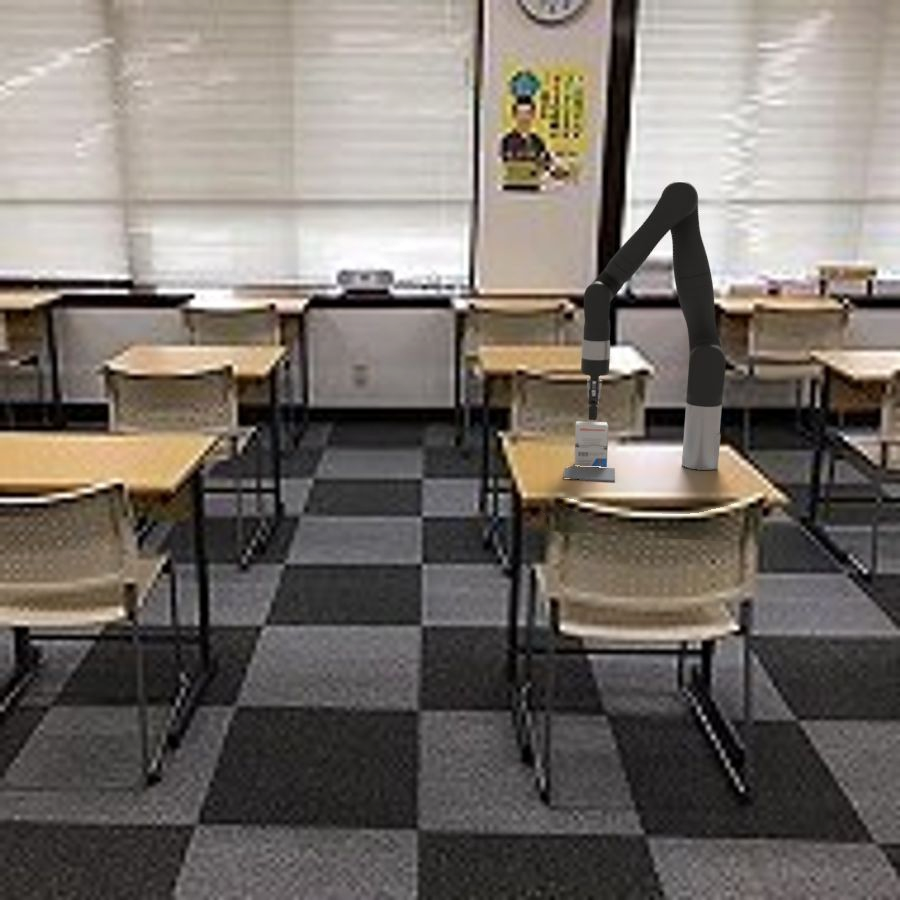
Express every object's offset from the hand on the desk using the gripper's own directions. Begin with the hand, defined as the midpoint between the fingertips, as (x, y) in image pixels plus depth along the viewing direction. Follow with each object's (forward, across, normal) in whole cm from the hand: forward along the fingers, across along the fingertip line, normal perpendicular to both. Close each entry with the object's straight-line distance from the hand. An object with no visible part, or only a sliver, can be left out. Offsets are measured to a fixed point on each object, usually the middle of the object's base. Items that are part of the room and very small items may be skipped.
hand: (592, 419), depth 285 cm
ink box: (+11, -8, 0) cm, 13 cm away
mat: (+11, -17, 0) cm, 20 cm away
